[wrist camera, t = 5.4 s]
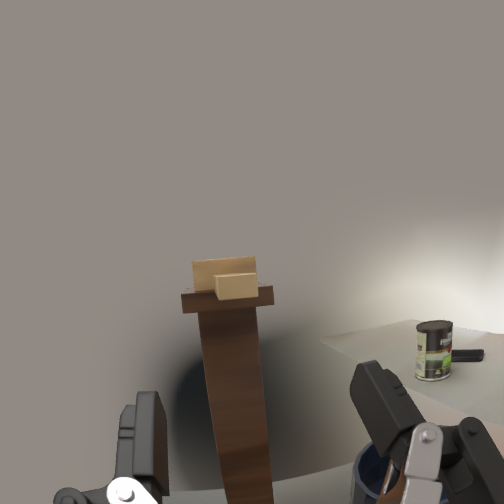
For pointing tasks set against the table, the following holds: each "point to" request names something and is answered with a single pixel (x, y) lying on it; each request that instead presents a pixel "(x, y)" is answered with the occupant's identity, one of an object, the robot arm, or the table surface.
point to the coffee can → (433, 350)
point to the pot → (372, 476)
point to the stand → (235, 390)
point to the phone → (467, 355)
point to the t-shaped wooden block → (226, 277)
